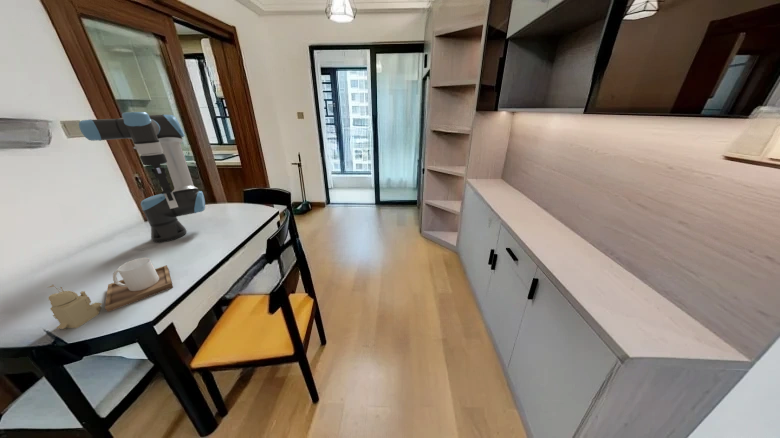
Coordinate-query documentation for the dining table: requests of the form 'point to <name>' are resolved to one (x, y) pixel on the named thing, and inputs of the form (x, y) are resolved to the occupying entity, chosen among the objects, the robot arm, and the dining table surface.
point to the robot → (72, 308)
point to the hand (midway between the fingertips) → (172, 204)
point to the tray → (124, 296)
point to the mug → (137, 274)
